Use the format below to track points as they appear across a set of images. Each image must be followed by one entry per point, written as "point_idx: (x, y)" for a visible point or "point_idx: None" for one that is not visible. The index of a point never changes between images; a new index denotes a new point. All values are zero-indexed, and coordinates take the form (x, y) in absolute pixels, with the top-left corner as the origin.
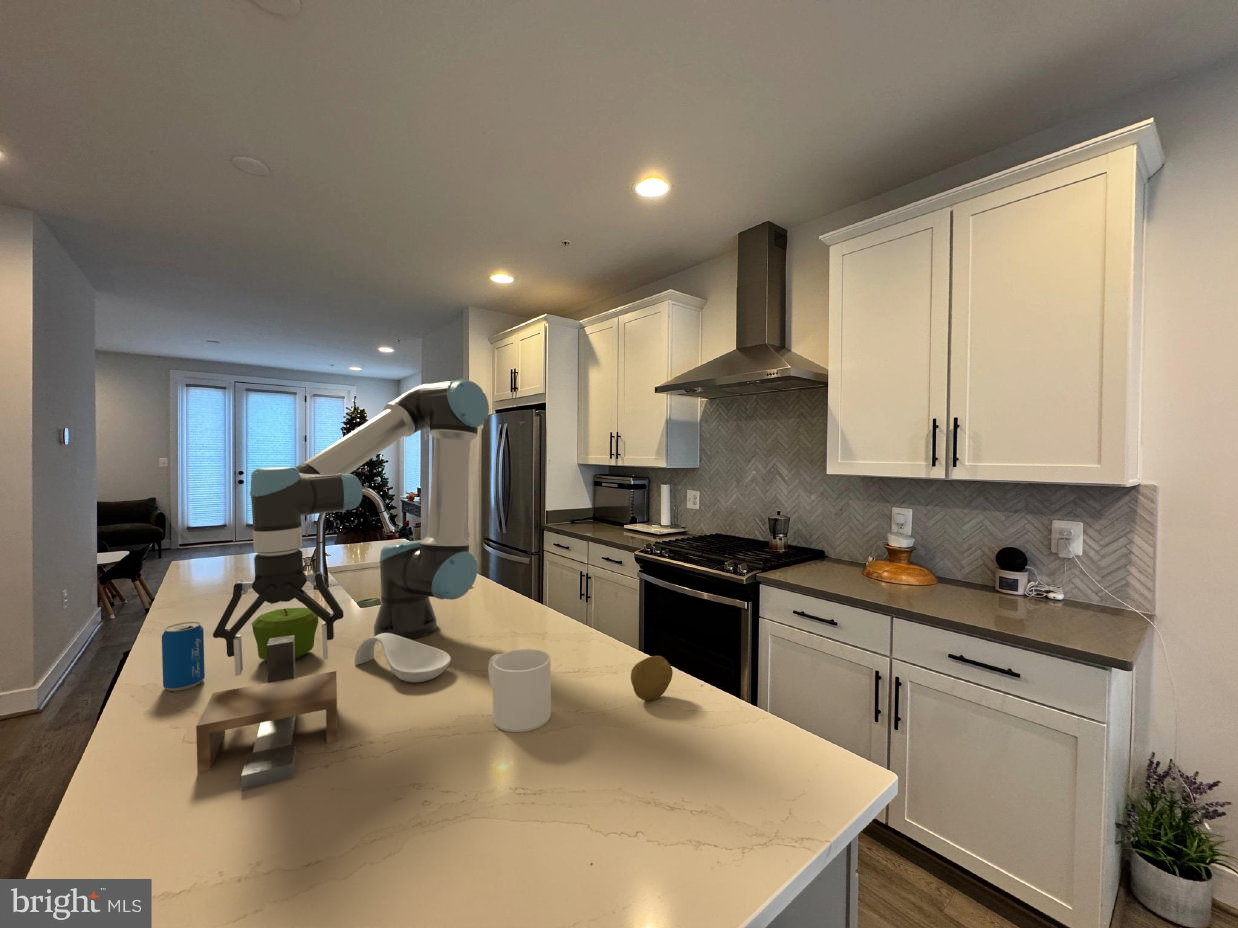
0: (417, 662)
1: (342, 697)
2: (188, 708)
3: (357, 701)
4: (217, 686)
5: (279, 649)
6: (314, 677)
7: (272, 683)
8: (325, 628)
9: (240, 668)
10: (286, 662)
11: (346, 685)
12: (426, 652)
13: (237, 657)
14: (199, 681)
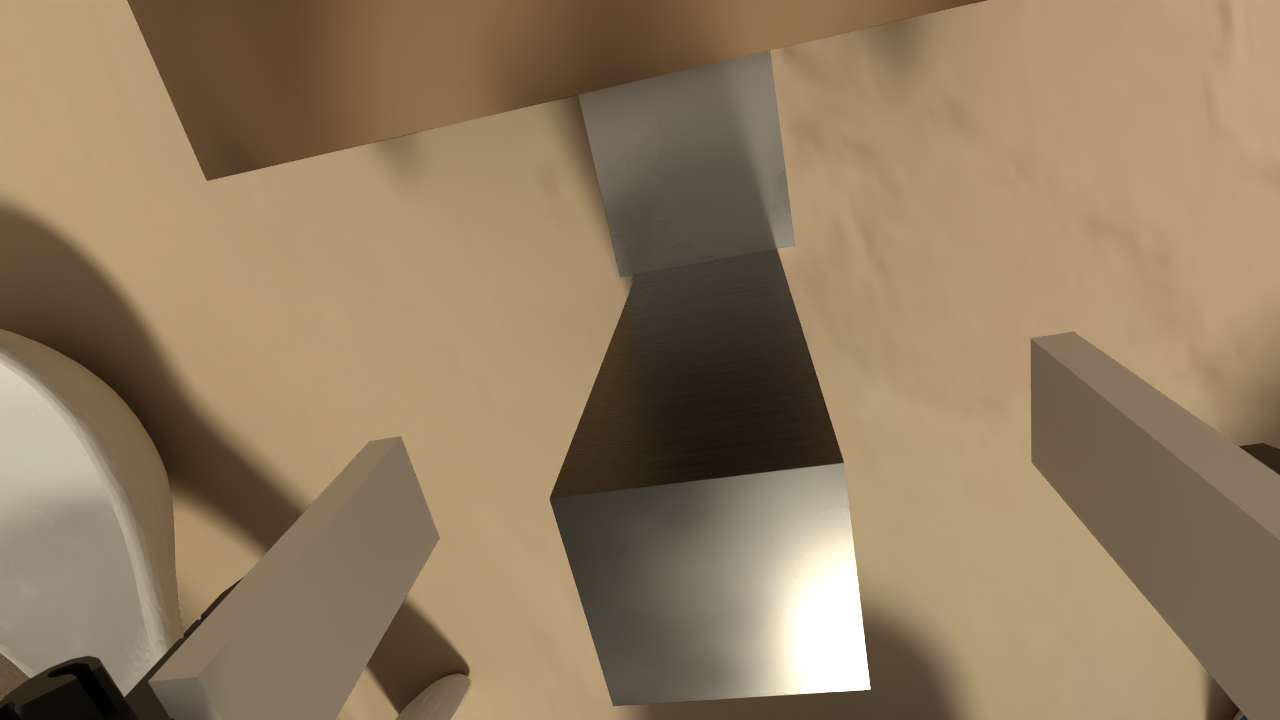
0: (87, 548)
1: (397, 300)
2: (1250, 433)
3: (289, 216)
4: (1129, 657)
5: (700, 438)
6: (336, 70)
7: (686, 32)
8: (191, 648)
9: (1056, 374)
10: (649, 378)
11: (430, 450)
12: (17, 599)
13: (1151, 413)
14: (1242, 716)
